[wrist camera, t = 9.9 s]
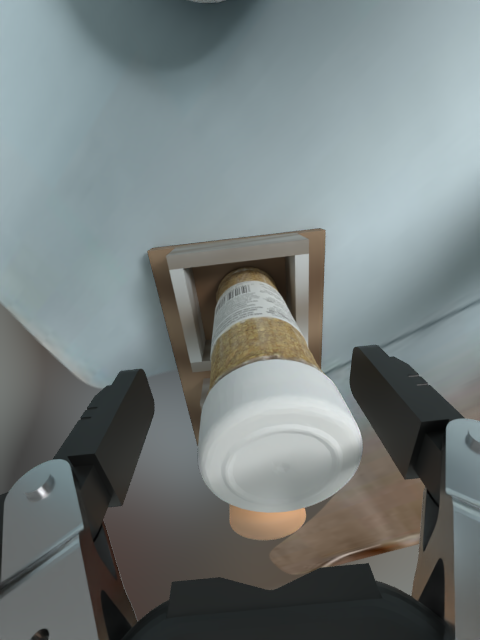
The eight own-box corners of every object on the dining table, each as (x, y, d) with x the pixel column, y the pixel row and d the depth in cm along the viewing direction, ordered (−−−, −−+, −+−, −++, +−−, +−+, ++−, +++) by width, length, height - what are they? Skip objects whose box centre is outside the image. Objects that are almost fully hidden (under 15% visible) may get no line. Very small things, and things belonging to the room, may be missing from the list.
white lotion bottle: (226, 392, 23) (224, 500, 15) (278, 386, 23) (305, 491, 14) (232, 429, 25) (234, 543, 17) (280, 424, 25) (306, 536, 16)
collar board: (151, 247, 18) (131, 260, 15) (319, 227, 18) (343, 235, 14) (199, 436, 27) (193, 475, 23) (315, 423, 26) (329, 461, 23)
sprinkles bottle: (230, 331, 20) (233, 534, 8) (206, 278, 18) (161, 440, 6) (286, 311, 20) (380, 496, 7) (267, 254, 18) (352, 379, 6)
